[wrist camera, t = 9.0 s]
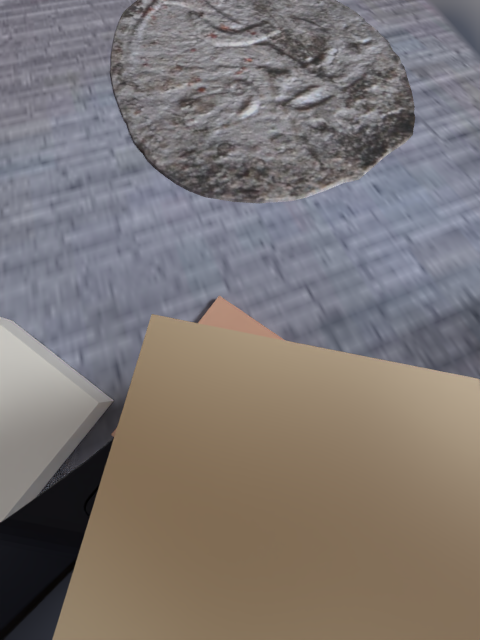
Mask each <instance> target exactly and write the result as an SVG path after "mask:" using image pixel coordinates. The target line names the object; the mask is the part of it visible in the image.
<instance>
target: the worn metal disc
mask: <svg viewBox="0 0 480 640" xmlns="http://www.w3.org/2000/svg"><path fill="white" fill-rule="evenodd" d="M110 74H111V79H112V85H113V91H114V95H115V97H116V100H117V103H118V106H119V109H120V112H121V114H122V116H123V119H124V121H125V122H126V123H127V126H128V129H129V132H130V135H131V137H132V139H133V142H134V144H135V145H136V146H137V147H138V149H139V150H140V151H141V152H142V153H143V154H144V155H145V158H146V159H147V160H148V162H149V163H150V164H151V165H152V166H153V167H154V168H155V169H156V170H158V171H159V172H160V173H161V174H163V175H164V176H165V177H167V178H168V179H170V180H171V181H172V182H174V183H175V184H177V185H179V186H181V187H183V188H184V189H186V190H188V191H190V192H193V193H196V194H198V195H201V196H204V197H208V198H214V199H220V200H226V201H232V202H246V203H271V202H284V201H293V200H297V199H301V198H306V197H309V196H311V195H314V194H317V193H320V192H323V191H325V190H328V189H330V188H333V187H335V186H337V185H340V184H342V183H346V182H350V181H355V180H359V179H360V178H361V177H362V176H364V175H365V174H366V173H367V172H368V171H369V170H370V169H372V168H373V167H374V166H375V165H376V164H377V163H378V162H379V161H380V160H382V159H383V158H384V157H385V156H386V155H388V154H389V153H391V152H392V151H394V150H395V149H397V148H398V147H400V146H401V145H403V144H404V143H405V142H406V141H407V140H408V139H409V138H410V137H411V136H412V135H413V128H414V122H415V115H414V102H413V96H412V91H411V88H410V85H409V82H408V78H407V75H406V72H405V68H404V66H403V65H402V63H401V61H400V58H399V56H398V55H397V54H396V53H395V52H394V51H393V50H392V48H391V46H390V44H389V42H388V40H386V39H385V38H384V37H383V36H382V35H381V34H380V33H379V32H378V31H377V30H376V29H375V28H374V27H372V26H371V25H370V24H368V23H367V22H366V21H365V19H364V18H362V17H361V16H360V15H359V14H357V13H356V12H355V11H353V10H351V9H350V8H349V7H347V6H344V5H343V4H342V3H340V2H338V1H336V0H137V1H136V2H134V3H133V4H132V5H131V6H130V7H129V8H127V9H126V10H125V11H124V13H123V14H122V16H121V19H120V21H119V24H118V27H117V30H116V33H115V37H114V42H113V48H112V54H111V71H110Z"/></svg>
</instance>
